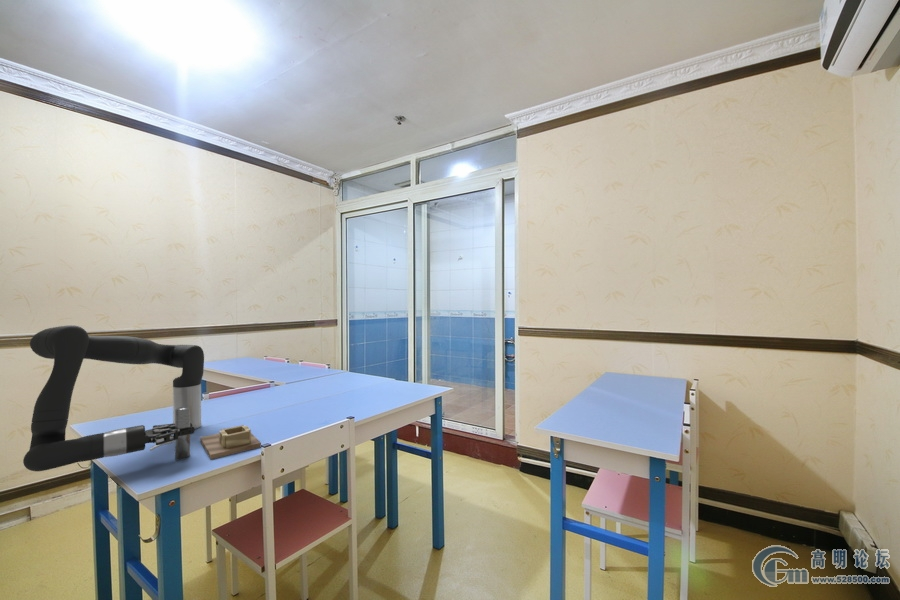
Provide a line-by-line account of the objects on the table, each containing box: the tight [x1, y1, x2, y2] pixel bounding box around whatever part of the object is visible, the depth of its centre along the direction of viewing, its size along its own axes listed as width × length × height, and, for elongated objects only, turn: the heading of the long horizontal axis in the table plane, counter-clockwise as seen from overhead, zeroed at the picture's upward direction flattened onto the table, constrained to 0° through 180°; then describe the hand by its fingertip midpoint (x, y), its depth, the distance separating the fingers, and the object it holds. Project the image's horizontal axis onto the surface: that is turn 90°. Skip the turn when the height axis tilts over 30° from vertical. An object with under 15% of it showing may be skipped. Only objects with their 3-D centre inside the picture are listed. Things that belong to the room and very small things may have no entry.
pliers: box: [149, 440, 175, 451], centre depth 136 cm, size 10×2×15 cm
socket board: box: [199, 424, 262, 460], centre depth 133 cm, size 20×15×6 cm
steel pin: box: [174, 407, 191, 461], centre depth 122 cm, size 4×4×16 cm
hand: (192, 427), depth 124 cm, fingers closed on steel pin, 4 cm apart
